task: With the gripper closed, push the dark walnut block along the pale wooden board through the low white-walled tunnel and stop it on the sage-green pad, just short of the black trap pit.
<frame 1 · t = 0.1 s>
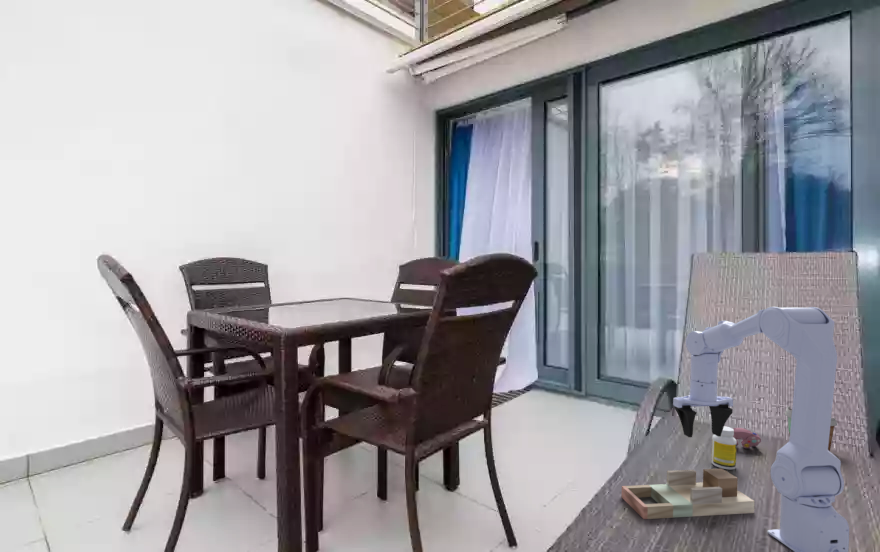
hand: (702, 435, 110), 10 cm above the table, tool pointing down, fingers open, 7 cm apart
food container: (804, 447, 129), on the table
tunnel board: (685, 504, 96), on the table
supplement bottle: (723, 466, 116), on the table
video game controller: (739, 447, 128), on the table
walnut block: (719, 491, 97), point 2 cm above the table, touching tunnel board
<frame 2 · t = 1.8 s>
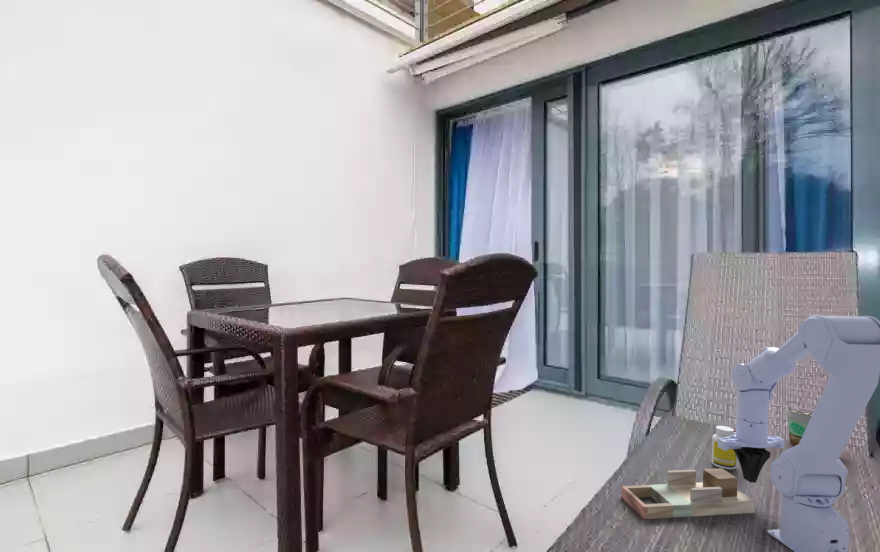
hand: (749, 480, 98), 5 cm above the table, tool pointing down, fingers closed
nothing on the table moved.
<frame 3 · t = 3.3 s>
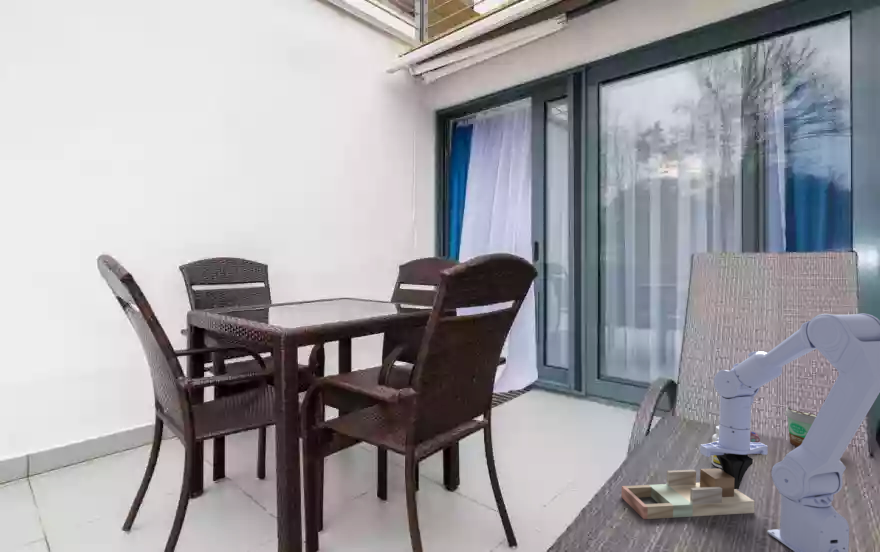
hand: (732, 486, 97), 3 cm above the table, tool pointing down, fingers closed
walnut block: (716, 491, 97), point 3 cm above the table, touching gripper
everything else where it was.
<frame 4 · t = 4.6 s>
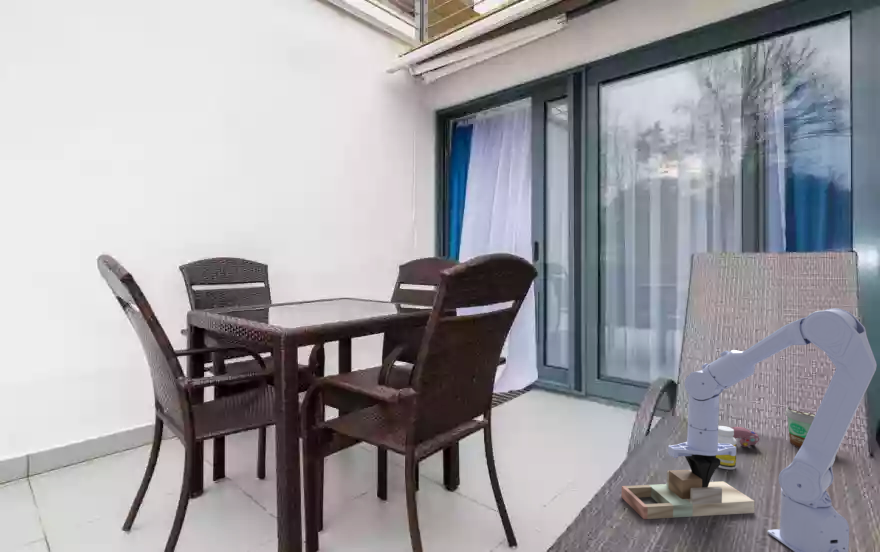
hand: (700, 488, 96), 3 cm above the table, tool pointing down, fingers closed
walnut block: (684, 493, 96), point 3 cm above the table, touching gripper
everything else where it was.
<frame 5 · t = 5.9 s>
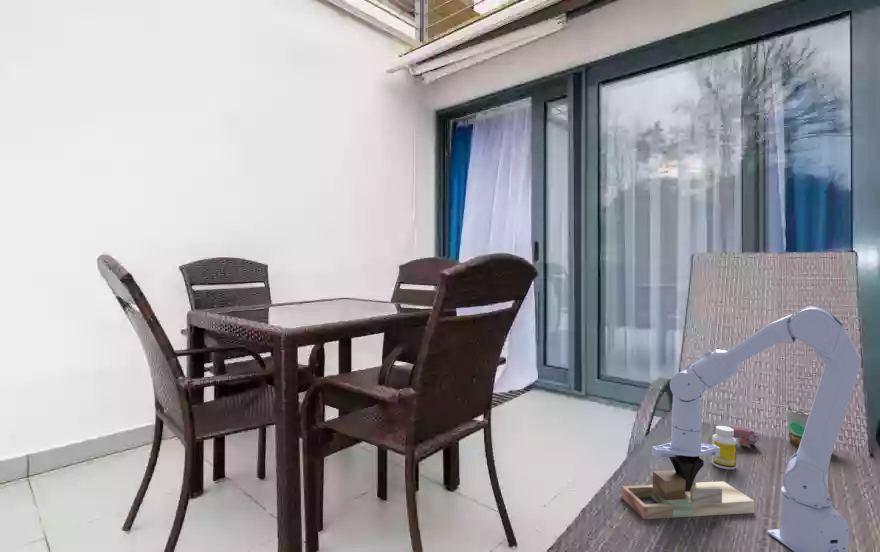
hand: (684, 489, 96), 3 cm above the table, tool pointing down, fingers closed
walnut block: (668, 494, 96), point 2 cm above the table, touching gripper, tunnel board
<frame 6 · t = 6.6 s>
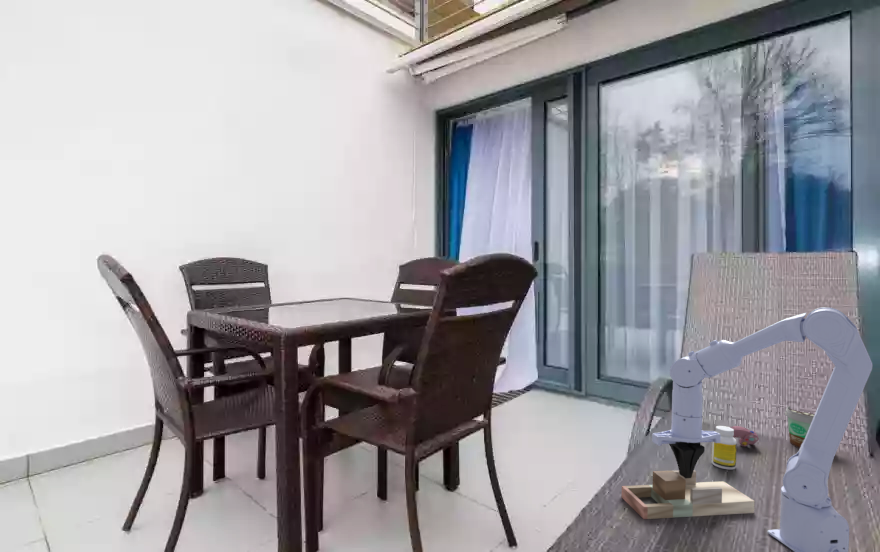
hand: (685, 476, 96), 6 cm above the table, tool pointing down, fingers closed
walnut block: (668, 494, 96), point 2 cm above the table, touching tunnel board
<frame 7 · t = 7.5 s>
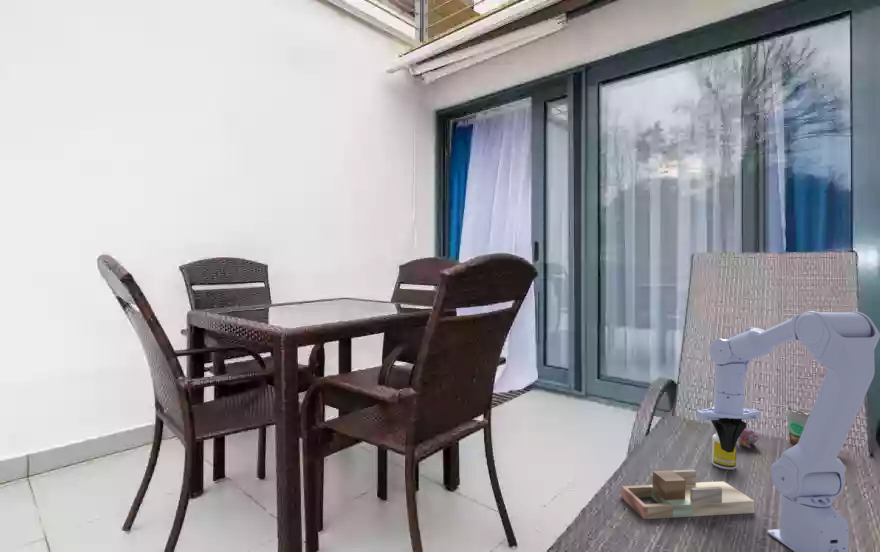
hand: (727, 450, 102), 9 cm above the table, tool pointing down, fingers closed
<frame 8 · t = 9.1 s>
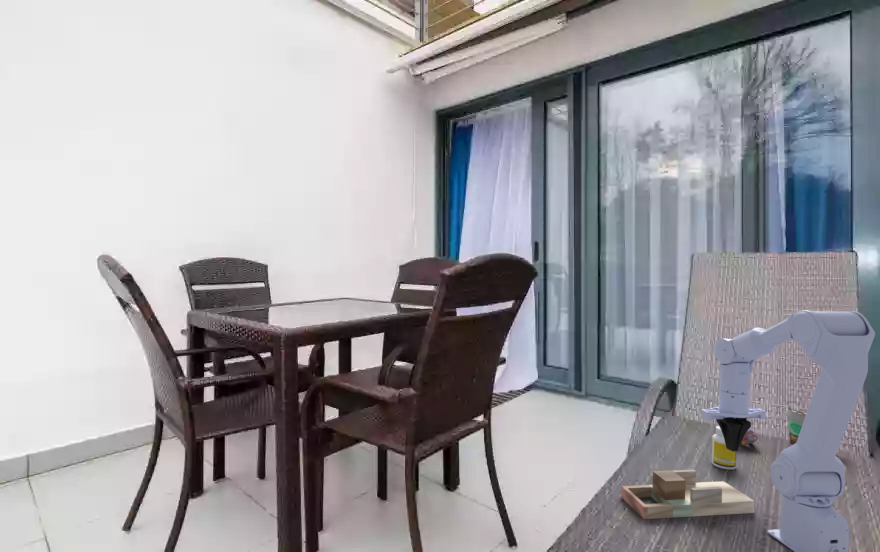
hand: (732, 449, 103), 9 cm above the table, tool pointing down, fingers closed
at the end: walnut block 0.1 cm from the target spot on the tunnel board, point 2.5 cm above the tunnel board's base; walnut block tilted 0° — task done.
